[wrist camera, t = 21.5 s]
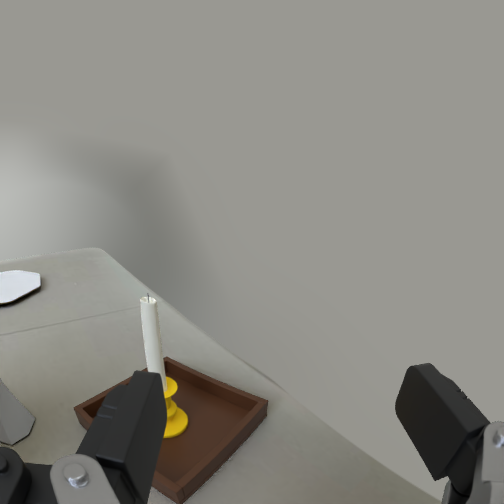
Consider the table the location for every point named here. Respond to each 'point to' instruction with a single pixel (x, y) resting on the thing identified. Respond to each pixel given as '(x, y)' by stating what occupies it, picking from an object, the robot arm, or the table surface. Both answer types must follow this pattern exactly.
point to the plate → (17, 284)
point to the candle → (160, 366)
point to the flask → (13, 417)
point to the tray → (195, 428)
